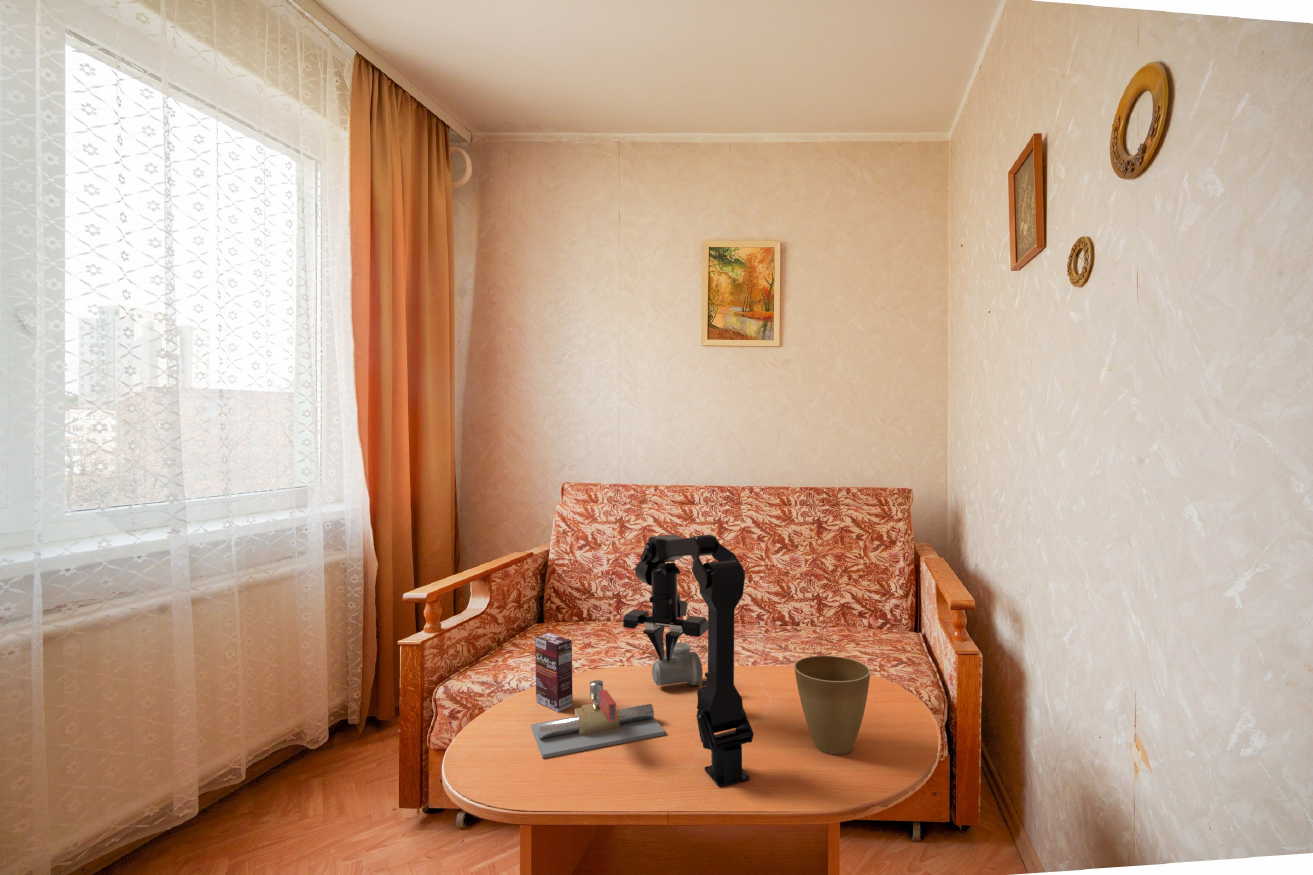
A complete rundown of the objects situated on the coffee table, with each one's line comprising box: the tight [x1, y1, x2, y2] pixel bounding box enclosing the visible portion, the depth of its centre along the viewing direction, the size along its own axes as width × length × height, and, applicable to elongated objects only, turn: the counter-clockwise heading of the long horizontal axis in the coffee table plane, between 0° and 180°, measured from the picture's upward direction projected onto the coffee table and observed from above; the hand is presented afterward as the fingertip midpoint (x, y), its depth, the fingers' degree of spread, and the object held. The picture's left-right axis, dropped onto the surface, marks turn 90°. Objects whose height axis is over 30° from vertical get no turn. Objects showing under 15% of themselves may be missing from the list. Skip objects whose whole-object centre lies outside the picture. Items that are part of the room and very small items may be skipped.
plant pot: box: [793, 655, 871, 756], centre depth 127 cm, size 15×15×16 cm
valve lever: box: [589, 679, 617, 722], centre depth 129 cm, size 13×3×3 cm, turn 20°
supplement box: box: [534, 632, 574, 713], centre depth 148 cm, size 9×5×16 cm, turn 48°
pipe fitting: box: [651, 642, 704, 687], centre depth 158 cm, size 12×8×10 cm
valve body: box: [537, 699, 655, 739], centre depth 134 cm, size 25×4×6 cm, turn 110°
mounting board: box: [530, 704, 666, 759], centre depth 134 cm, size 26×14×1 cm, turn 110°
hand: (665, 660), depth 140 cm, fingers closed
